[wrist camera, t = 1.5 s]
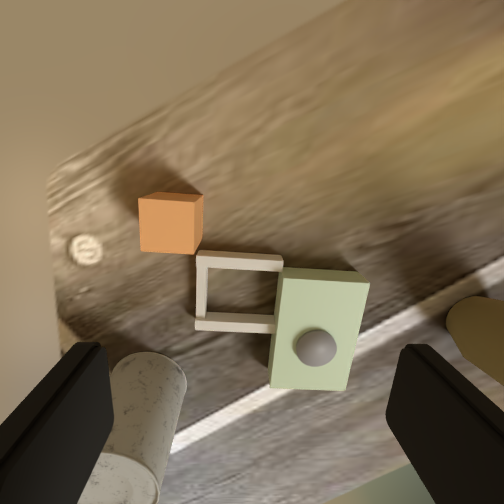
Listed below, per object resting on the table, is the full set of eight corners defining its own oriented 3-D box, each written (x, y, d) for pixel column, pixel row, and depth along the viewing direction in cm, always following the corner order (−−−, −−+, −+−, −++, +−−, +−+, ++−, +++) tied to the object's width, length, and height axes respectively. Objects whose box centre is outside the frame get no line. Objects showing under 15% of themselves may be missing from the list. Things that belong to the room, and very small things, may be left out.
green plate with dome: (199, 249, 30) (193, 261, 26) (360, 260, 31) (375, 273, 27) (196, 365, 34) (191, 389, 31) (336, 371, 35) (347, 394, 32)
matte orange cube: (157, 191, 28) (138, 198, 22) (203, 195, 28) (194, 202, 23) (158, 235, 29) (140, 251, 24) (202, 238, 29) (193, 254, 24)
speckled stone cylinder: (187, 352, 34) (157, 453, 22) (187, 412, 37) (161, 528, 25) (108, 349, 33) (35, 450, 22) (114, 410, 36) (53, 527, 24)
